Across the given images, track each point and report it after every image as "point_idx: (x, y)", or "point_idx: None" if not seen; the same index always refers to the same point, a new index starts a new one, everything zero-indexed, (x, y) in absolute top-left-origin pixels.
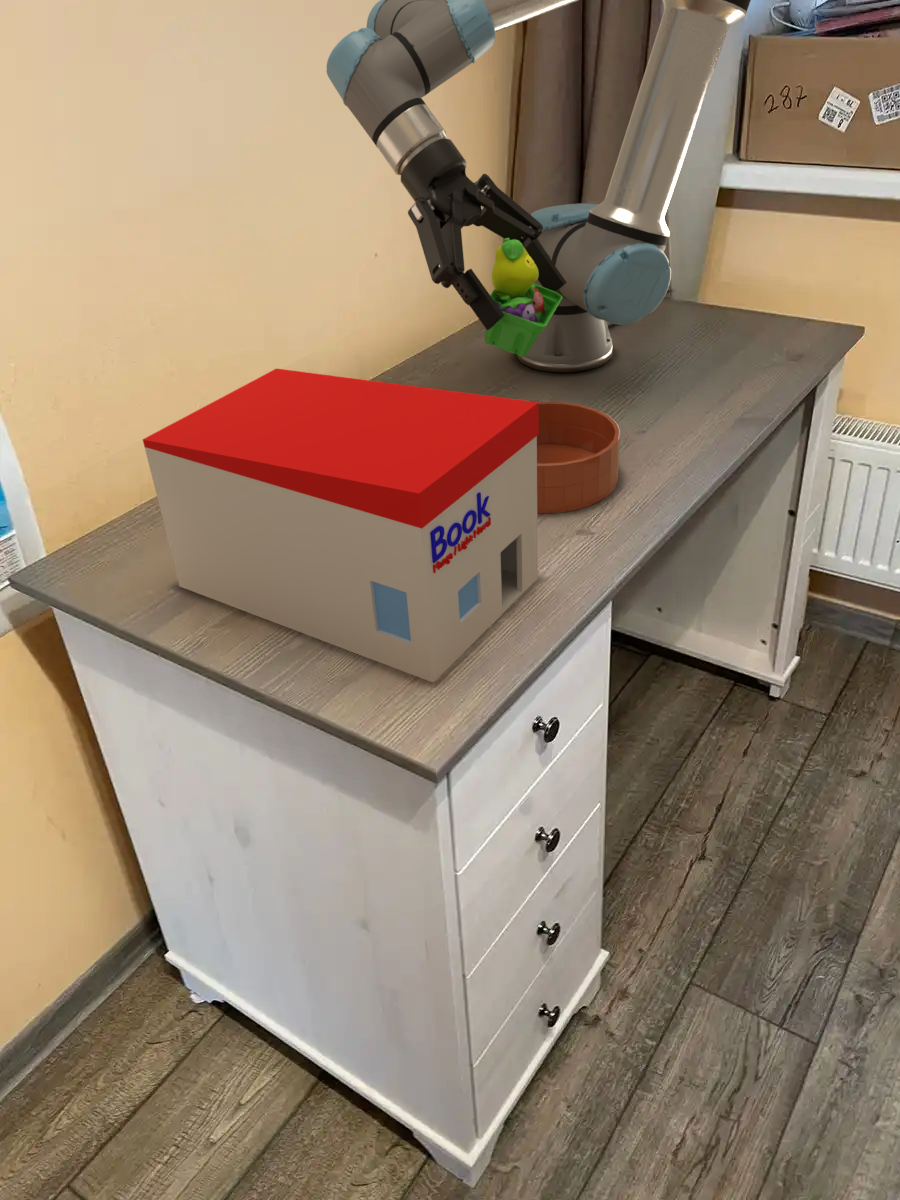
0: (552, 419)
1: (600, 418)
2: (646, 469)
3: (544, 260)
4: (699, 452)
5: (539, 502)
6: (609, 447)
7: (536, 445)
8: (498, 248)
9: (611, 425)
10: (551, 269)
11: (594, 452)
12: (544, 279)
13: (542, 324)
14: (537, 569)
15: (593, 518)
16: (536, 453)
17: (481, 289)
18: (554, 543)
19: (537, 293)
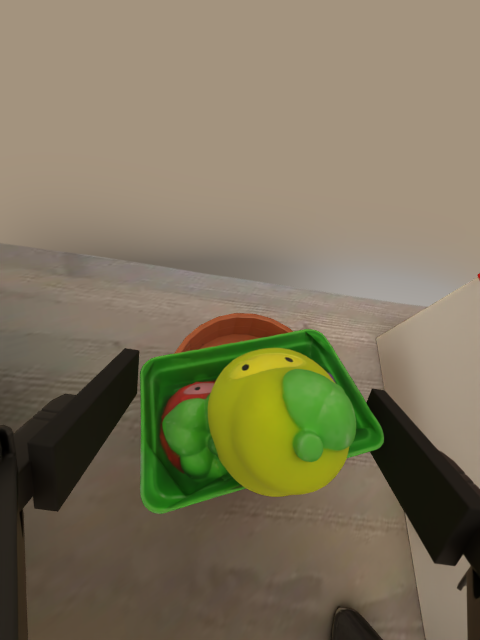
0: None
1: (185, 348)
2: (192, 319)
3: (103, 396)
4: (147, 290)
5: None
6: (253, 315)
7: (469, 282)
8: (335, 470)
9: (201, 331)
10: (119, 376)
11: None
12: (121, 403)
13: (313, 333)
14: (380, 335)
15: None
16: (461, 287)
17: (430, 444)
18: (331, 345)
19: (200, 390)
